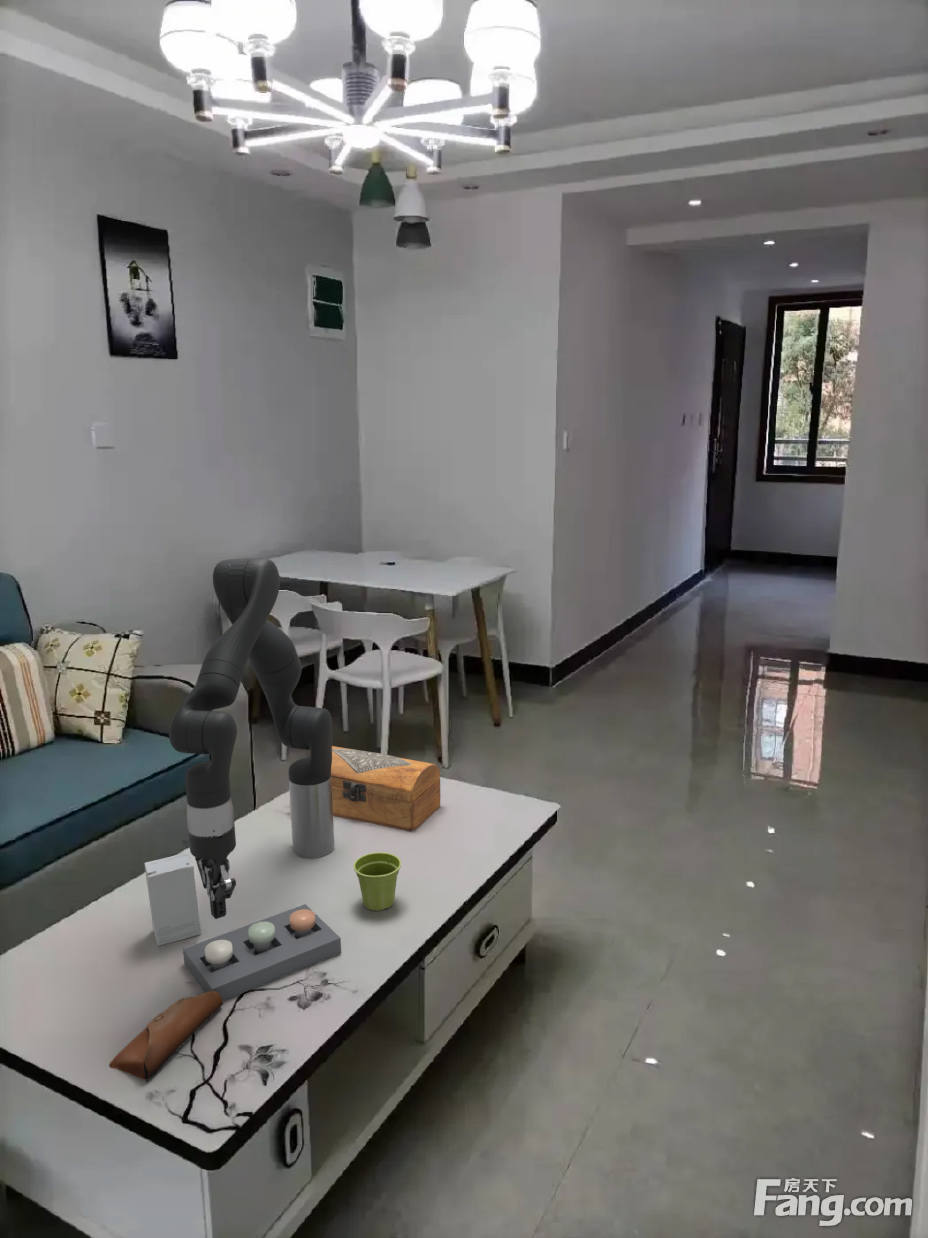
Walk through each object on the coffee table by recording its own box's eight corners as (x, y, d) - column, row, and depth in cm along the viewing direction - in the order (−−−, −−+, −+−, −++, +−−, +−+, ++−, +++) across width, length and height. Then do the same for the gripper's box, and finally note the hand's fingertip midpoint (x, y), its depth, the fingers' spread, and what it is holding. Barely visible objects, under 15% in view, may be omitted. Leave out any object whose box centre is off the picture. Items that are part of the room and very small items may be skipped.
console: (184, 963, 158) (182, 948, 157) (306, 918, 172) (305, 904, 171) (213, 1005, 147) (212, 989, 146) (341, 952, 161) (340, 938, 160)
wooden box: (302, 812, 217) (299, 759, 213) (339, 786, 231) (336, 736, 228) (410, 836, 204) (408, 780, 201) (441, 807, 219) (441, 755, 216)
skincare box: (196, 920, 171) (190, 850, 168) (201, 936, 166) (195, 864, 162) (150, 931, 168) (143, 860, 164) (154, 948, 162) (147, 875, 159)
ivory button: (202, 968, 155) (200, 946, 154) (227, 958, 157) (226, 936, 156) (212, 981, 151) (210, 959, 150) (238, 971, 154) (236, 949, 153)
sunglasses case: (181, 995, 149) (195, 969, 147) (213, 1022, 148) (228, 997, 145) (104, 1068, 133) (118, 1041, 130) (138, 1099, 132) (153, 1072, 129)
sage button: (245, 949, 159) (244, 927, 158) (269, 940, 162) (268, 918, 161) (256, 961, 156) (254, 939, 155) (280, 952, 158) (278, 930, 157)
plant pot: (395, 918, 171) (393, 878, 169) (348, 913, 173) (346, 873, 171) (407, 893, 180) (406, 854, 178) (363, 888, 182) (362, 850, 180)
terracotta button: (286, 936, 164) (285, 915, 163) (308, 927, 167) (307, 906, 166) (297, 948, 160) (296, 926, 159) (320, 939, 163) (319, 917, 162)
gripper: (175, 816, 151) (184, 906, 156) (203, 846, 141) (212, 942, 145) (217, 804, 156) (225, 892, 160) (248, 832, 145) (255, 926, 150)
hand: (218, 915), depth 153 cm, fingers closed
